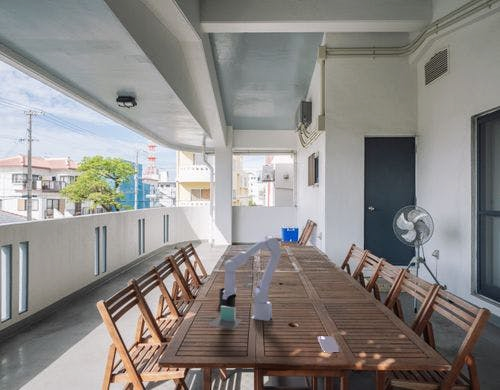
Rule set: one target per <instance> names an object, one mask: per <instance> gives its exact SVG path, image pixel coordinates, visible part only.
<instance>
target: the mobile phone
mask: <svg viewBox="0 0 500 390" xmlns="http://www.w3.org/2000/svg"><path fill="white" fill-rule="evenodd" d="M317 340H318V342H319V345H320V347H321V350H322V351H324V352H326V353H325V354H334V353H333V352H339V351H338V350H339V349H340V347H339V345H338V343H337V342H336V339H335V337H334V336H332V335H331V336H328V335H325V336H323V335H321V336H320V335H319V336H317ZM338 348H339V349H338ZM324 352H323V353H324Z"/></svg>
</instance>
